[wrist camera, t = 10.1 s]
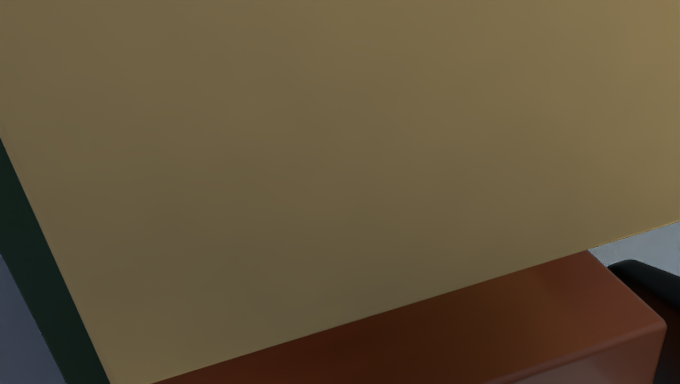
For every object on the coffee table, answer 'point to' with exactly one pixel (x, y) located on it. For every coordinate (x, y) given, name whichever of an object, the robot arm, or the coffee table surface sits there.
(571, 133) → the green board with cubes
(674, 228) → the coffee table surface
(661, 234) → the coffee table surface
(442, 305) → the terracotta orange cube
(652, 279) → the robot arm
